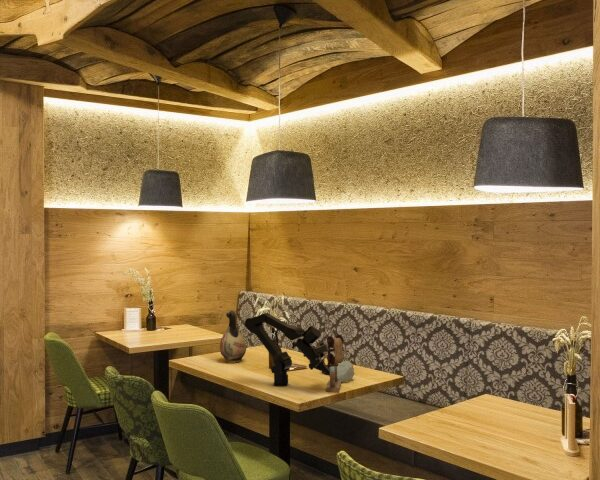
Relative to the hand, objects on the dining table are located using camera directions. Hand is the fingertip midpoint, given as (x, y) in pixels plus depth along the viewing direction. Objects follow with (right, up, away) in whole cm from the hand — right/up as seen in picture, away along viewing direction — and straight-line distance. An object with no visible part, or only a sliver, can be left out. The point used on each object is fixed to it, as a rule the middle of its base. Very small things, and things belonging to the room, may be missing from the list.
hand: (329, 373), depth 292 cm
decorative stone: (+7, -8, +17) cm, 20 cm away
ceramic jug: (-53, -7, +63) cm, 83 cm away
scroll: (+5, -7, +35) cm, 36 cm away
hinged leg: (+2, -4, 0) cm, 4 cm away
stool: (+2, -8, 0) cm, 8 cm away
